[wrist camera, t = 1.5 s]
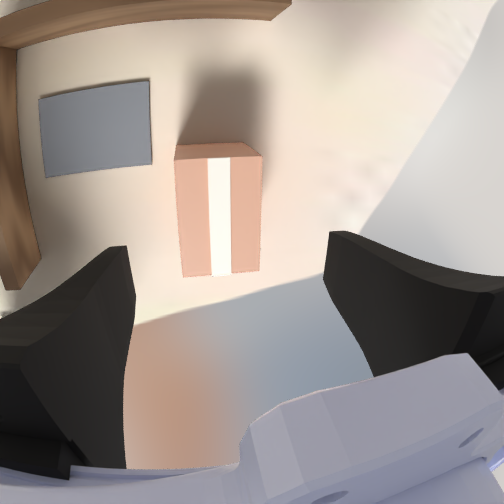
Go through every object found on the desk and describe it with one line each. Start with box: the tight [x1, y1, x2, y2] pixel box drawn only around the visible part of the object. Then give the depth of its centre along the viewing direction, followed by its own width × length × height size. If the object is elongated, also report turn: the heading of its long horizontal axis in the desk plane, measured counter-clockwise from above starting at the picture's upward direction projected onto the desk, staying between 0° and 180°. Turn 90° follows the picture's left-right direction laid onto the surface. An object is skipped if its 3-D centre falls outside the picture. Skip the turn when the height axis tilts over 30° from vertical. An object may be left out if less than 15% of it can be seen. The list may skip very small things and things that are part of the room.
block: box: [174, 142, 262, 278], centre depth 18 cm, size 6×4×5 cm, turn 179°
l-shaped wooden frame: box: [0, 0, 292, 290], centre depth 15 cm, size 16×17×4 cm
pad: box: [39, 81, 152, 178], centre depth 16 cm, size 5×7×1 cm
